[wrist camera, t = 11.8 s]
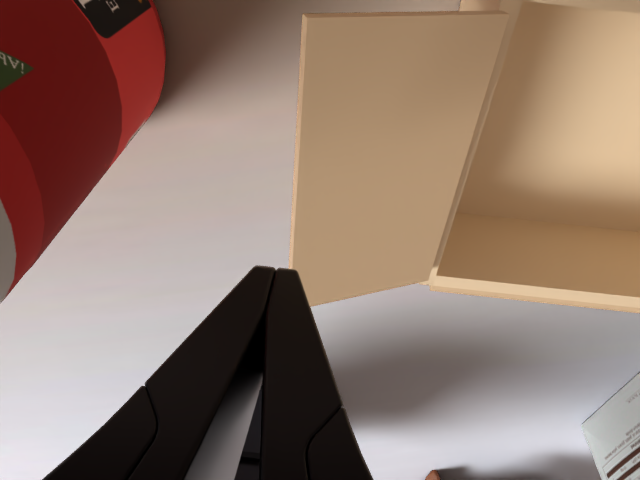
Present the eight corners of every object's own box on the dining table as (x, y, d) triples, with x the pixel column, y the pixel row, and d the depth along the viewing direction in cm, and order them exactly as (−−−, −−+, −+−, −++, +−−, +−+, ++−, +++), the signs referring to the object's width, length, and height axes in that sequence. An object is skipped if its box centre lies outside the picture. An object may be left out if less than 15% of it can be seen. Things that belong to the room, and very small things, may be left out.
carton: (704, 250, 21) (772, 329, 18) (408, 218, 21) (416, 291, 18) (912, -23, 15) (1086, 18, 11) (477, -69, 15) (513, -43, 11)
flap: (289, 311, 15) (286, 304, 15) (428, 280, 17) (423, 275, 17) (307, 17, 10) (302, 13, 10) (509, 14, 11) (501, 10, 12)
